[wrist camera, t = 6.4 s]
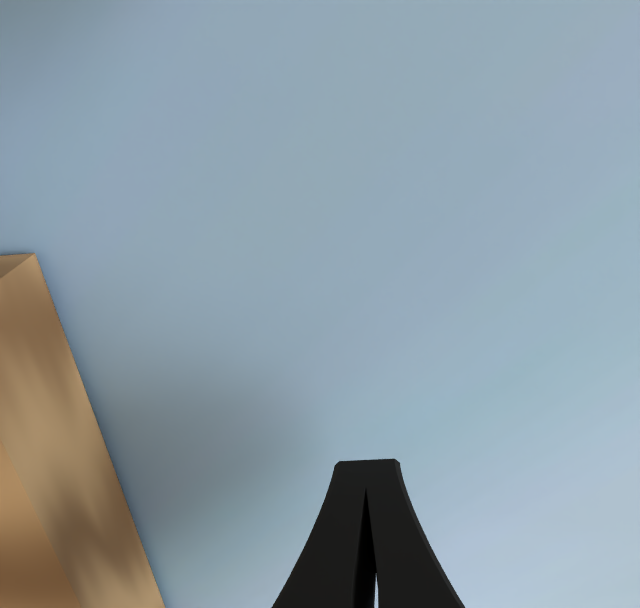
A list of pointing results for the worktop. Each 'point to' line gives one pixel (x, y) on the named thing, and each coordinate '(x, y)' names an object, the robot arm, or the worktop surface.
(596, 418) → the worktop surface
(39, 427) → the hinged leg
